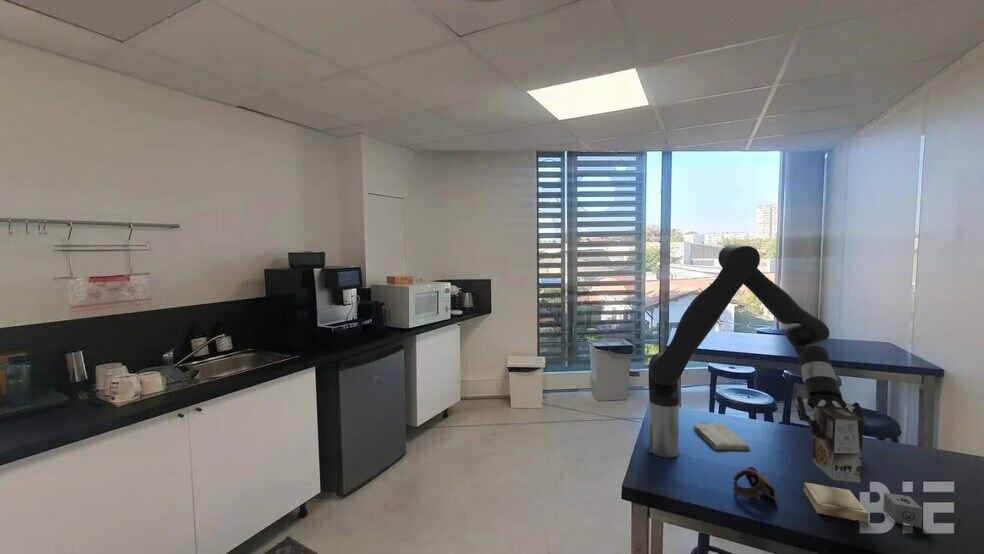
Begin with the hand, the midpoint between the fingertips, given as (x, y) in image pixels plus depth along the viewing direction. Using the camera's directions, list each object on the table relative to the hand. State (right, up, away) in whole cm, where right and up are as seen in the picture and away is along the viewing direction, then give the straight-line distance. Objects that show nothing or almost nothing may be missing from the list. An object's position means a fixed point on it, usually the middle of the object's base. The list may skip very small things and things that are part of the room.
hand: (836, 438), depth 102 cm
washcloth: (-8, -17, +39) cm, 43 cm away
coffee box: (0, -9, +1) cm, 9 cm away
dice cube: (+13, -19, -4) cm, 23 cm away
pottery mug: (-17, -19, +6) cm, 26 cm away
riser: (0, -18, +1) cm, 18 cm away
